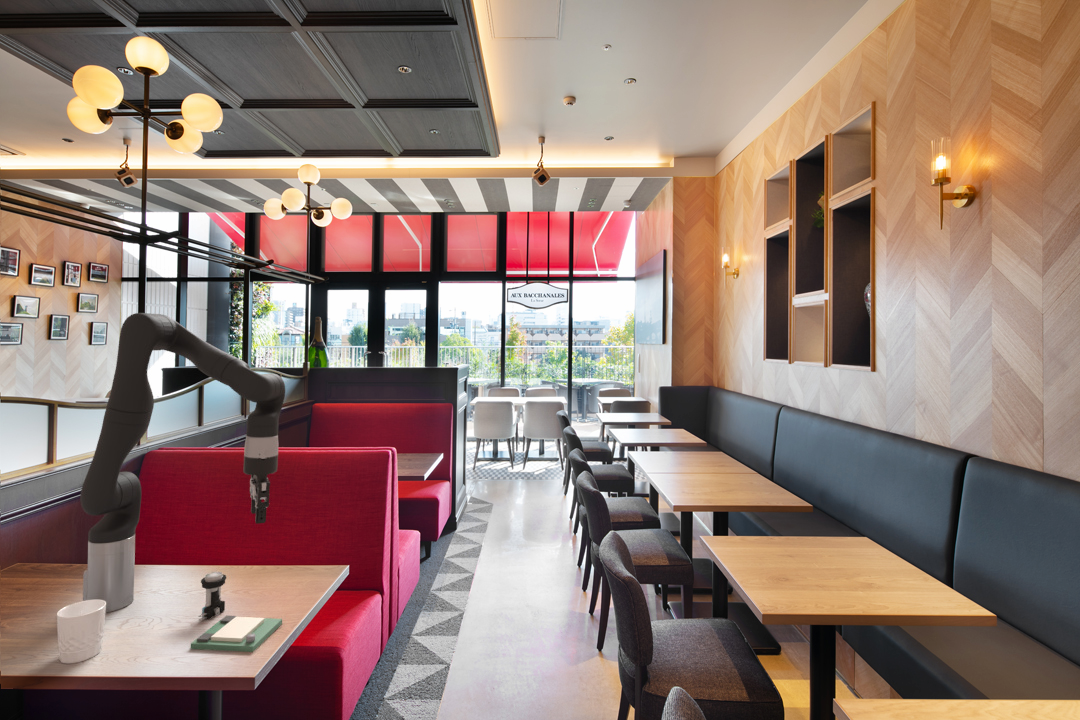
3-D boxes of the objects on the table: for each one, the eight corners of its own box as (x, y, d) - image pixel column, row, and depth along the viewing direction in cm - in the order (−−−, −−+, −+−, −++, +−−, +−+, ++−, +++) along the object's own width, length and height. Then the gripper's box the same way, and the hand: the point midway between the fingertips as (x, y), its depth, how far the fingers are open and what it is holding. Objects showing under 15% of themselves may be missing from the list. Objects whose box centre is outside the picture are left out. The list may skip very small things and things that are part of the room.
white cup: (75, 644, 115) (77, 599, 115) (114, 644, 115) (115, 599, 115) (45, 666, 107) (46, 617, 107) (86, 665, 107) (87, 617, 107)
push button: (208, 624, 125) (209, 582, 125) (189, 621, 126) (190, 579, 126) (230, 611, 131) (231, 571, 131) (212, 608, 132) (213, 569, 132)
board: (190, 648, 114) (190, 637, 114) (225, 621, 126) (225, 611, 126) (253, 651, 114) (253, 641, 114) (282, 623, 126) (282, 613, 126)
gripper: (241, 449, 134) (237, 511, 134) (247, 460, 123) (244, 528, 123) (273, 447, 139) (270, 508, 139) (282, 457, 127) (279, 524, 127)
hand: (258, 517), depth 131 cm, fingers open, 8 cm apart
